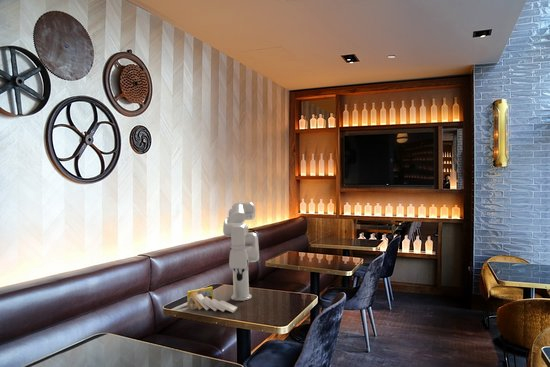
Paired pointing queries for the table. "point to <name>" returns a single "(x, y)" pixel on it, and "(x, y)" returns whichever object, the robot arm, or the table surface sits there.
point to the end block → (191, 304)
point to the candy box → (202, 292)
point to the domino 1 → (196, 300)
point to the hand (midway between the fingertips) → (239, 280)
